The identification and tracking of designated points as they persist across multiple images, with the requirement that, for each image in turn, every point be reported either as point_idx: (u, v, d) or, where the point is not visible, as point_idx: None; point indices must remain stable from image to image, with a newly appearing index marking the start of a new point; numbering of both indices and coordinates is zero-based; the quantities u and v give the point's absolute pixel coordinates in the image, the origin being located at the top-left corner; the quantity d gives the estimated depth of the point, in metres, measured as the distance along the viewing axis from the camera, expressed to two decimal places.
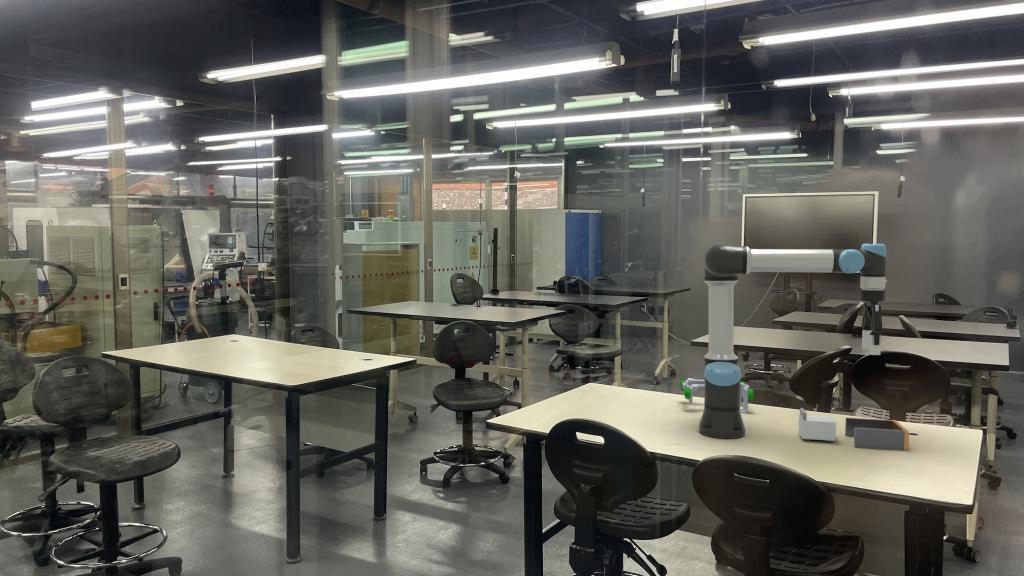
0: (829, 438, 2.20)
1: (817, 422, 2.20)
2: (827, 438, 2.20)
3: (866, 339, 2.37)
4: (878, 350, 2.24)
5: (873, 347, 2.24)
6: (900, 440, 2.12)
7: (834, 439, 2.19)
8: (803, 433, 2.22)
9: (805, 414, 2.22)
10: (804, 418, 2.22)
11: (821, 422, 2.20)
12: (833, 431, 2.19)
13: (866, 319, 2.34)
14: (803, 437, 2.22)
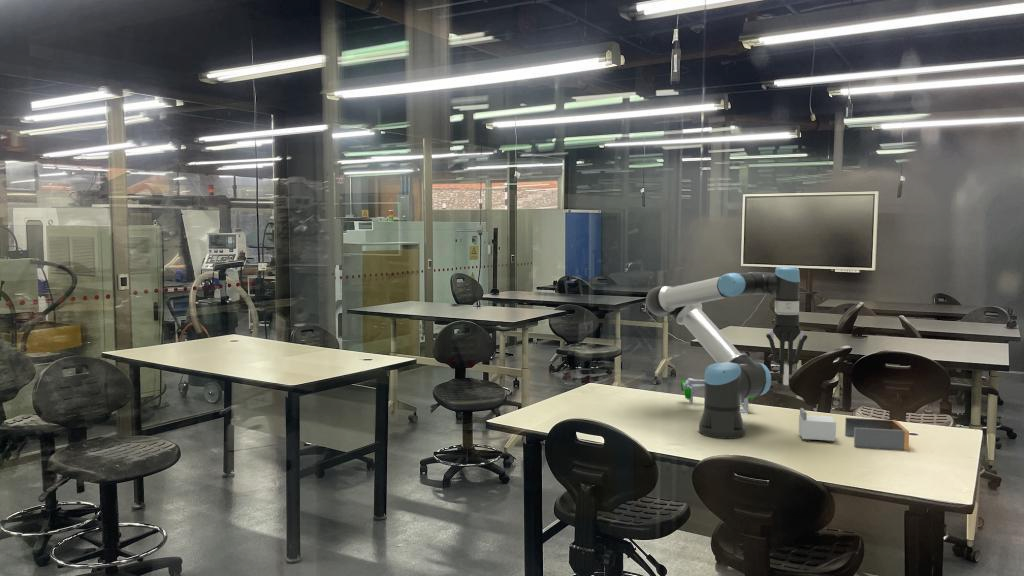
0: (829, 438, 2.20)
1: (817, 422, 2.20)
2: (827, 438, 2.20)
3: None
4: (783, 380, 2.25)
5: (783, 377, 2.27)
6: (900, 440, 2.12)
7: (834, 439, 2.19)
8: (803, 433, 2.22)
9: (805, 414, 2.22)
10: (804, 418, 2.22)
11: (821, 422, 2.20)
12: (833, 431, 2.19)
13: (788, 347, 2.26)
14: (803, 437, 2.22)
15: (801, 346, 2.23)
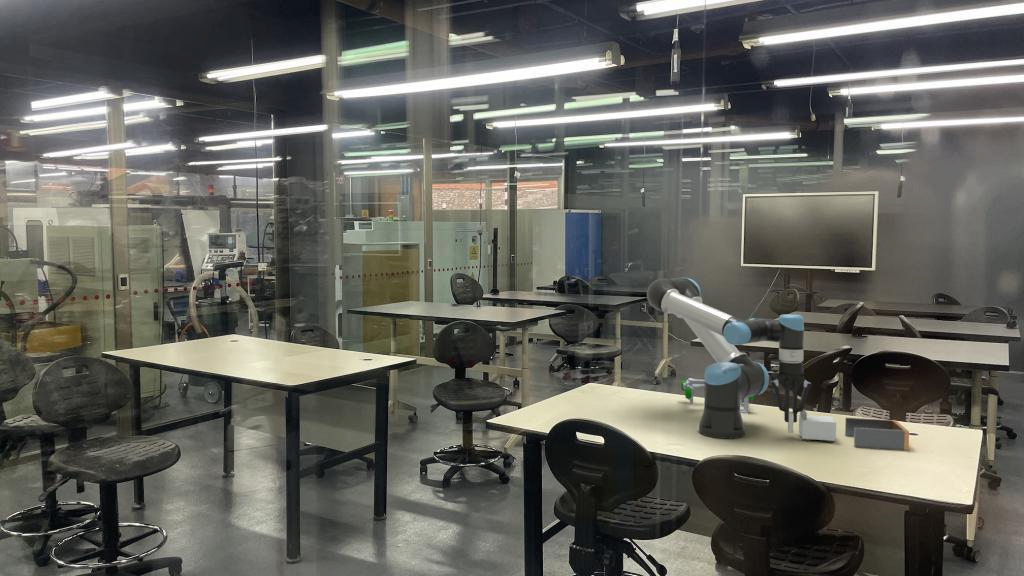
0: (829, 438, 2.20)
1: (817, 422, 2.20)
2: (827, 438, 2.20)
3: None
4: (788, 427, 2.26)
5: (788, 424, 2.27)
6: (900, 440, 2.12)
7: (834, 439, 2.19)
8: (803, 433, 2.22)
9: (805, 414, 2.22)
10: (804, 418, 2.22)
11: (821, 422, 2.20)
12: (833, 431, 2.19)
13: None
14: (803, 437, 2.22)
15: (806, 394, 2.23)
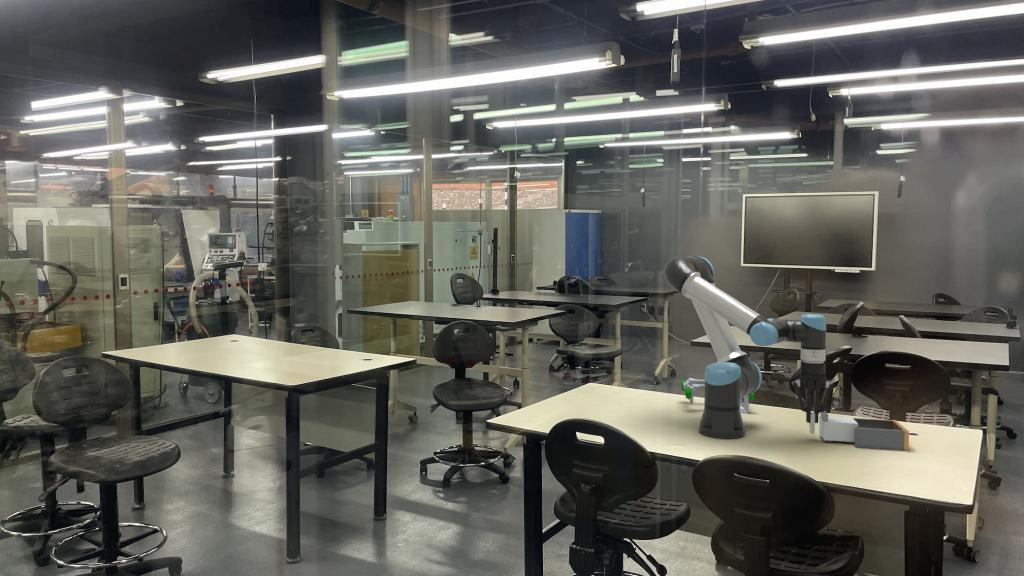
0: (851, 439, 2.18)
1: (839, 423, 2.19)
2: (849, 439, 2.18)
3: None
4: (810, 428, 2.24)
5: None
6: (900, 440, 2.12)
7: None
8: (825, 434, 2.20)
9: (827, 415, 2.20)
10: (826, 419, 2.20)
11: (843, 424, 2.18)
12: None
13: (814, 395, 2.24)
14: (825, 438, 2.20)
15: (827, 395, 2.21)
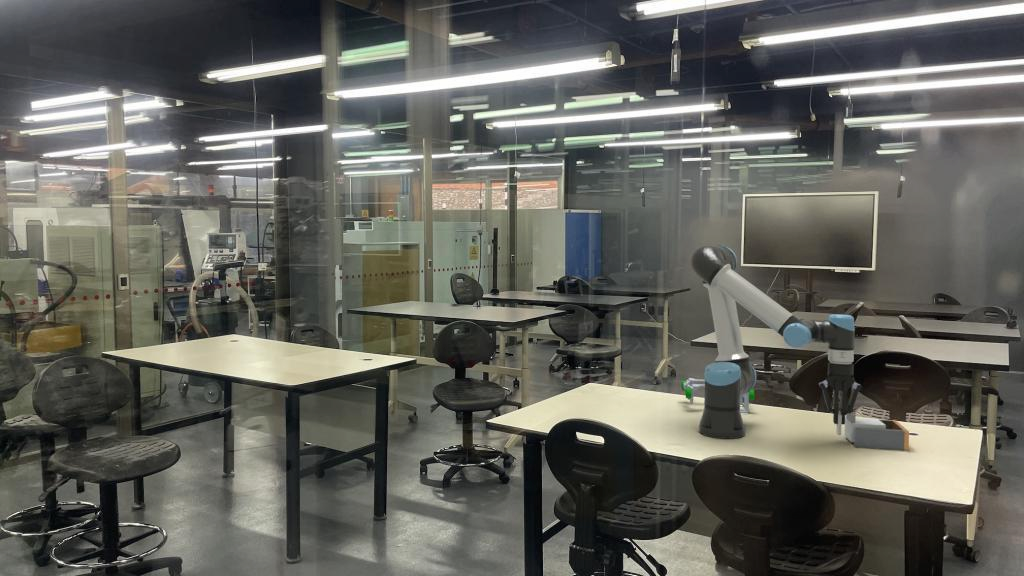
0: None
1: (866, 425, 2.17)
2: None
3: None
4: (837, 429, 2.22)
5: None
6: (900, 440, 2.12)
7: None
8: (852, 436, 2.18)
9: (854, 417, 2.18)
10: (853, 421, 2.18)
11: (870, 425, 2.16)
12: None
13: (841, 396, 2.22)
14: (852, 440, 2.18)
15: (855, 396, 2.19)
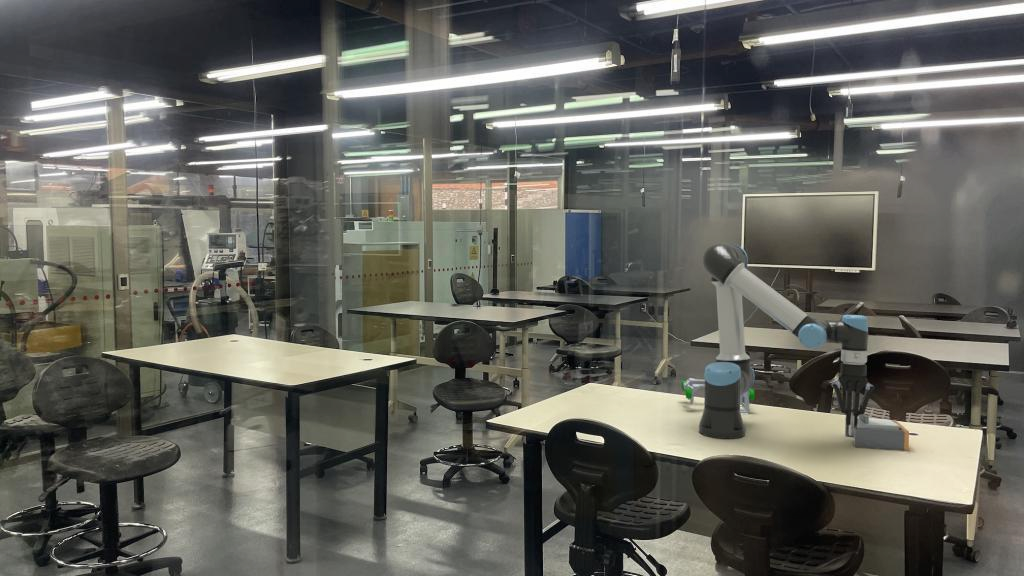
0: None
1: (880, 426, 2.16)
2: None
3: None
4: (850, 430, 2.21)
5: (849, 427, 2.22)
6: (900, 440, 2.12)
7: None
8: None
9: (867, 418, 2.17)
10: (866, 422, 2.17)
11: (884, 426, 2.16)
12: None
13: (853, 397, 2.21)
14: None
15: (868, 397, 2.18)
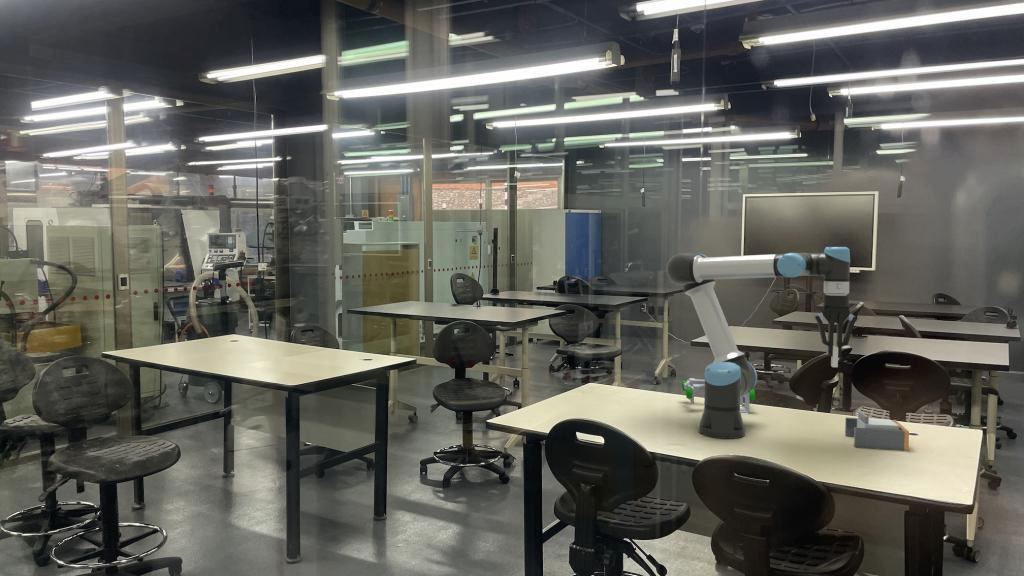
0: None
1: (880, 426, 2.16)
2: None
3: None
4: (832, 362, 2.21)
5: (831, 359, 2.23)
6: (900, 440, 2.12)
7: None
8: None
9: (867, 418, 2.17)
10: (866, 422, 2.17)
11: (884, 426, 2.16)
12: None
13: (837, 329, 2.22)
14: None
15: (851, 327, 2.19)
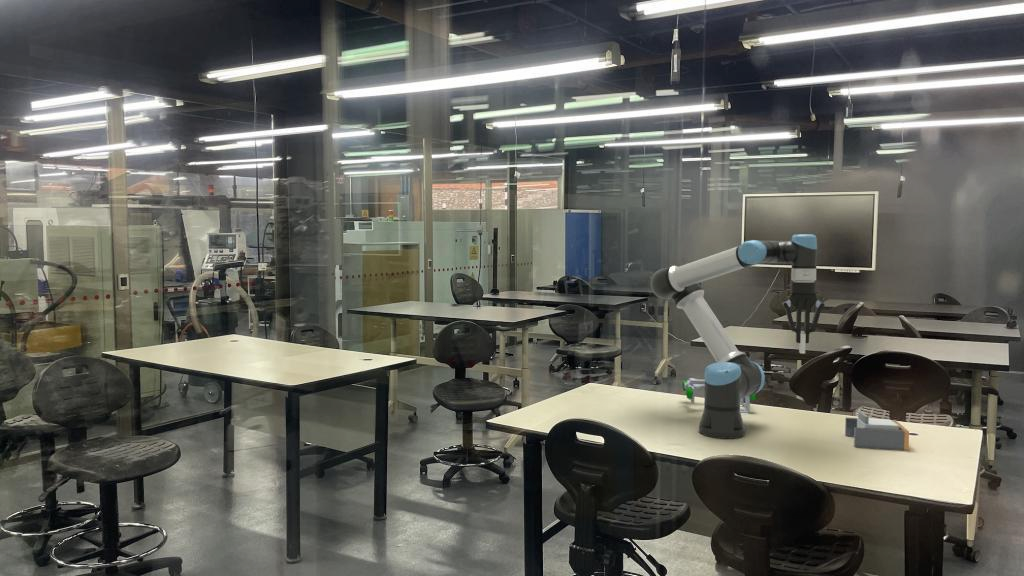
0: None
1: (880, 426, 2.16)
2: None
3: None
4: (800, 348, 2.24)
5: (799, 345, 2.25)
6: (900, 440, 2.12)
7: None
8: None
9: (867, 418, 2.17)
10: (866, 422, 2.17)
11: (884, 426, 2.16)
12: None
13: None
14: None
15: (818, 314, 2.21)
